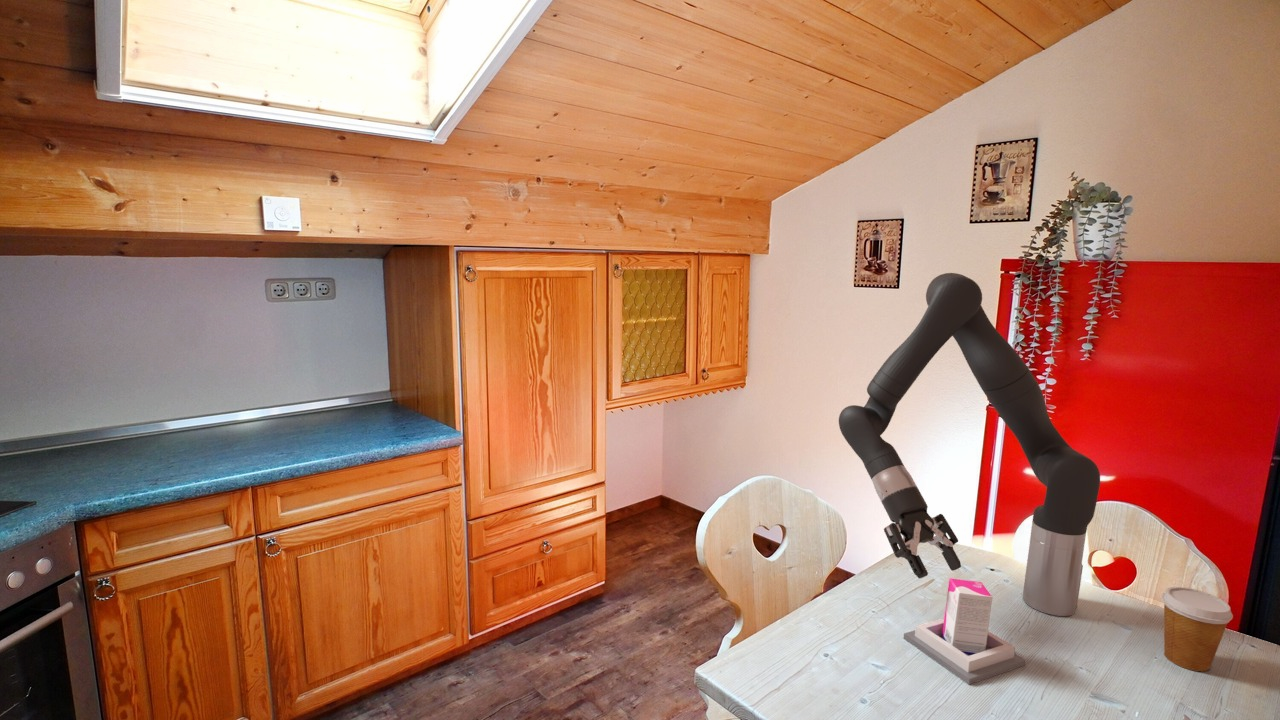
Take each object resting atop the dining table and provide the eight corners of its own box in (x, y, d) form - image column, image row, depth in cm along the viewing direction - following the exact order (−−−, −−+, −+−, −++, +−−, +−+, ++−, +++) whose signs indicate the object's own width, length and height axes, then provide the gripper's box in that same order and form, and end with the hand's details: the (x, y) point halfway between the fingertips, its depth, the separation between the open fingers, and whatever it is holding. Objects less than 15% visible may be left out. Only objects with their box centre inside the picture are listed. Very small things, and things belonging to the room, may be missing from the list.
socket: (957, 623, 124) (958, 608, 124) (1025, 665, 111) (1027, 649, 111) (903, 638, 119) (905, 623, 118) (968, 684, 106) (970, 668, 105)
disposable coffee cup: (1205, 651, 117) (1216, 591, 115) (1233, 683, 108) (1246, 618, 106) (1143, 640, 120) (1153, 581, 118) (1166, 670, 111) (1177, 607, 109)
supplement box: (986, 657, 112) (993, 597, 110) (950, 653, 113) (957, 593, 111) (974, 638, 117) (981, 580, 116) (940, 634, 118) (947, 577, 117)
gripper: (882, 489, 122) (925, 572, 113) (936, 480, 127) (981, 559, 119) (860, 506, 127) (899, 586, 119) (913, 497, 133) (954, 573, 124)
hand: (940, 572), depth 119 cm, fingers open, 8 cm apart
